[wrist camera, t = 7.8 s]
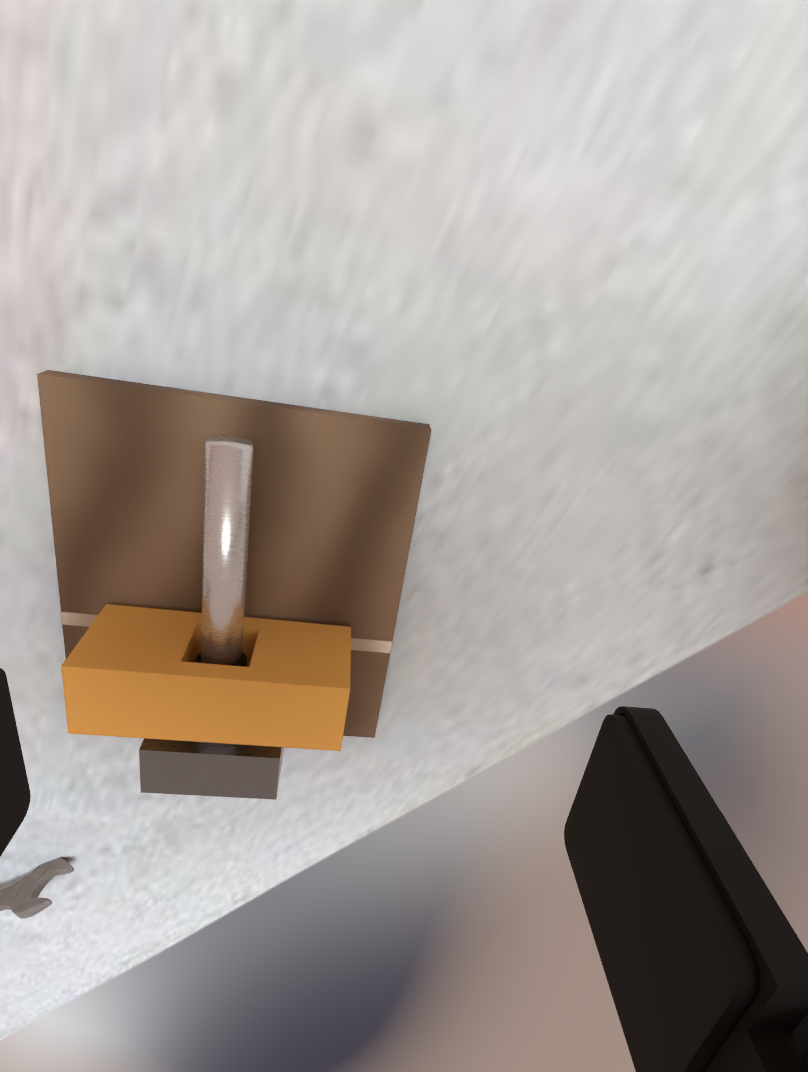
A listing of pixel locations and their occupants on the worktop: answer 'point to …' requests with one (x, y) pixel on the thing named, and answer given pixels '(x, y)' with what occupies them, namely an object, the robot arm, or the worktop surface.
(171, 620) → the collar
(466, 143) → the worktop surface
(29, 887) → the combination wrench
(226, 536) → the grey block with rod
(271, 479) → the pipe board
